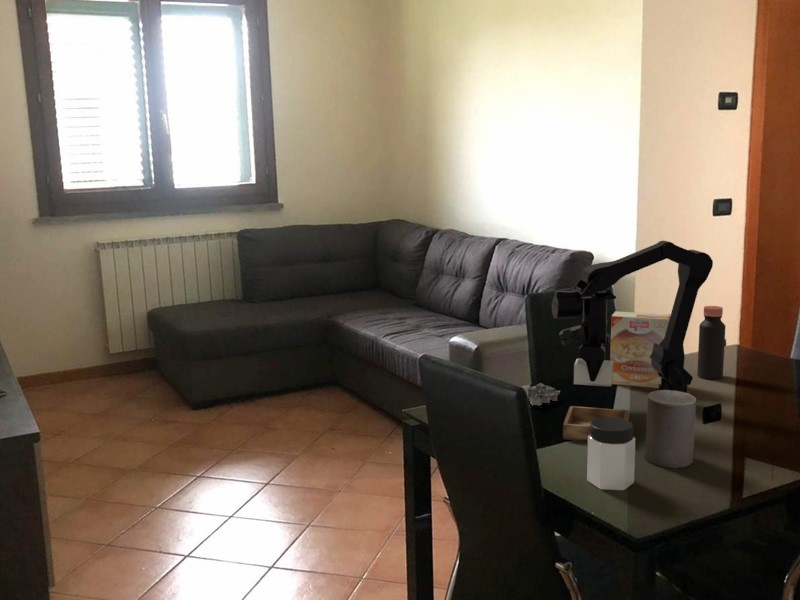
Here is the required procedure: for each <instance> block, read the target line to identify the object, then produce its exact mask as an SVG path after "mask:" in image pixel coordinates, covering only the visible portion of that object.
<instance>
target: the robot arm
mask: <svg viewBox="0 0 800 600" xmlns="http://www.w3.org/2000/svg"><path fill="white" fill-rule="evenodd" d="M666 259H667V260H669V261H672V262H673V263H676V264H678V265H677V275H678V277H677V278H678V288H677V292H676V294H675V295H676V296H675V299H674V302H673V306H672V309H671V313H670V319H669V323H668V327H667V330H666V334H665V337H664V339H663V340H662V342H661V343H660V344H656V343H654V345H653V351H652V354H651V356H650V358H651V365H652V366H653V368H654V369H655V370H656V371H657V372H658V375H659V377H661V384H659V386H658V388H657V389H658V390H657V391H659V390H672V391H679V392H684V393H688V386H690V385H691V384H692V381H693V375H691V374H690V373H689V372H688V371H687V370H686V369H685V358H686V357H685V349H684V343H685V338H686V335H687V331H688V329H689V326H690V321H691V317H692V315H693V310H694V308H695V303H696V299H697V296H698V293H699V289H700V288H701V287H702V285H704V284H705V282H706V281H707V279H708V277H709V275H710V273H711V271H712V268H713V264H714V260H713V259H712V258H711V256H710V255H709V254H708V253H706V252H703V251H699V250H695V249H686V248H683V247H681V246H679V245H677V244H675V243H673V242H671V241H667V240H659V241H658V242H657V243H655V244H652V245H649V246H648V247H645V248H642V249H639V250H638V251H636V252H633V253H630V254H628V255H625V256H623V257H620V258H618V259H616V260H612V261H607V262H599V263H595V264H590V265H587V266H585V268H583V269H582V270H583V271H582V273H581V276H580V278H579V280H578V281H577V282H576V284H575V285H574V286H573V288H572V290H554V296H553V298H552V301H551V312H552V316H553V317H552V318H554V319H574V318H579V317H580V316H582V320H581V323H580V325H574V326H571V327H568V328H565V329H561V330H560V332H559V334H558V335H559V340H560V342H561V343H562V346H564V347H565V346H568V345H569V344H572V343H576V342H577V343H578V342H580V344H581V345H580V346H579V347H578V349H577V359H583V360H584V361H585V362H586V364H587V369H588V373H589V378H590V381H592V382H595V380H596V377H597V375H598V373H599V370H600V368H601V366H602V364H603V361H604V360H606V353H607V351H608V349H609V344H610V341H611V334H609V333H608V331H607V329H608V326H607V325H608V319H607V318H608V300H616V299H617V296H616V295H614V293H612V290H611V289H609V288H611V287H612V286H614V285H615V284H617V283H618V282H619V281H620V280H621V279H622V278H624V277H625V276H627V275H631V274H632V273H636V272H638V271H639V270H640V271H641V270H643V269H645V268H647V267H649V266H652V265H655V264H656V263H660V262H661V261H664V260H666Z"/></svg>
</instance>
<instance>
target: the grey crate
mask: <svg viewBox="0 0 800 600" xmlns="http://www.w3.org/2000/svg"><path fill="white" fill-rule="evenodd" d="M612 381H613V361H610V360H607V359H604V361H603V364H602V366H601V368H600V370H599V373H598V375H597V377H596V380H595V382H592V381H590V378H589V373H588V369H587V364H586V362H585V361H584V360H583V359H581V358H576V359H575V361H574V364H573V385H580V386H583V385H584V386H597V387H612V385H613V384H612Z"/></svg>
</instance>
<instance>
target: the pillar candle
mask: <svg viewBox="0 0 800 600" xmlns="http://www.w3.org/2000/svg"><path fill="white" fill-rule="evenodd" d="M646 404H647V407H646V431H645V454H644V459H645V461H647V462H648V463H651V464H653V465H655V466H659V467H663V468H671V469H679V467H681V468H686V467H689V466H691V465H692V464H693V461H694V448H695V447H694V444H695V433H696V432H695V430H696V429H695V428H696V427H695V426H696V413H697V412H696V410H697V398H696V397H695V396H694V395H692V394H690V393H688V392H687V393H684V392H679V391H672V390H659V391H658V390H655V391H651V392H649V393H648V395H647V403H646ZM691 463H692V464H691ZM690 464H691V465H690ZM688 465H689V466H688ZM685 466H686V467H685Z"/></svg>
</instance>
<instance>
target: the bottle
mask: <svg viewBox="0 0 800 600" xmlns="http://www.w3.org/2000/svg"><path fill="white" fill-rule="evenodd" d="M723 309H724V308H723V307H722V306H717V305H705V306H704V307H703V317H704V319H703V320H702V322H700V323H699V326H698V327H699V328H698V329H699V331H698V347H697V348H698V351H697V352H698V354H697V373H696V375H697V376H698V377H699V378H701V379H704V380H710V381H711V380H712V381H713V380H721V379H723V377H724V366H725V365H724V363H725V362H724V361H725V346H726V345H725V342H726V325H725V323H724V322H723V321H722V318H723V313H724V310H723Z"/></svg>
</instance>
